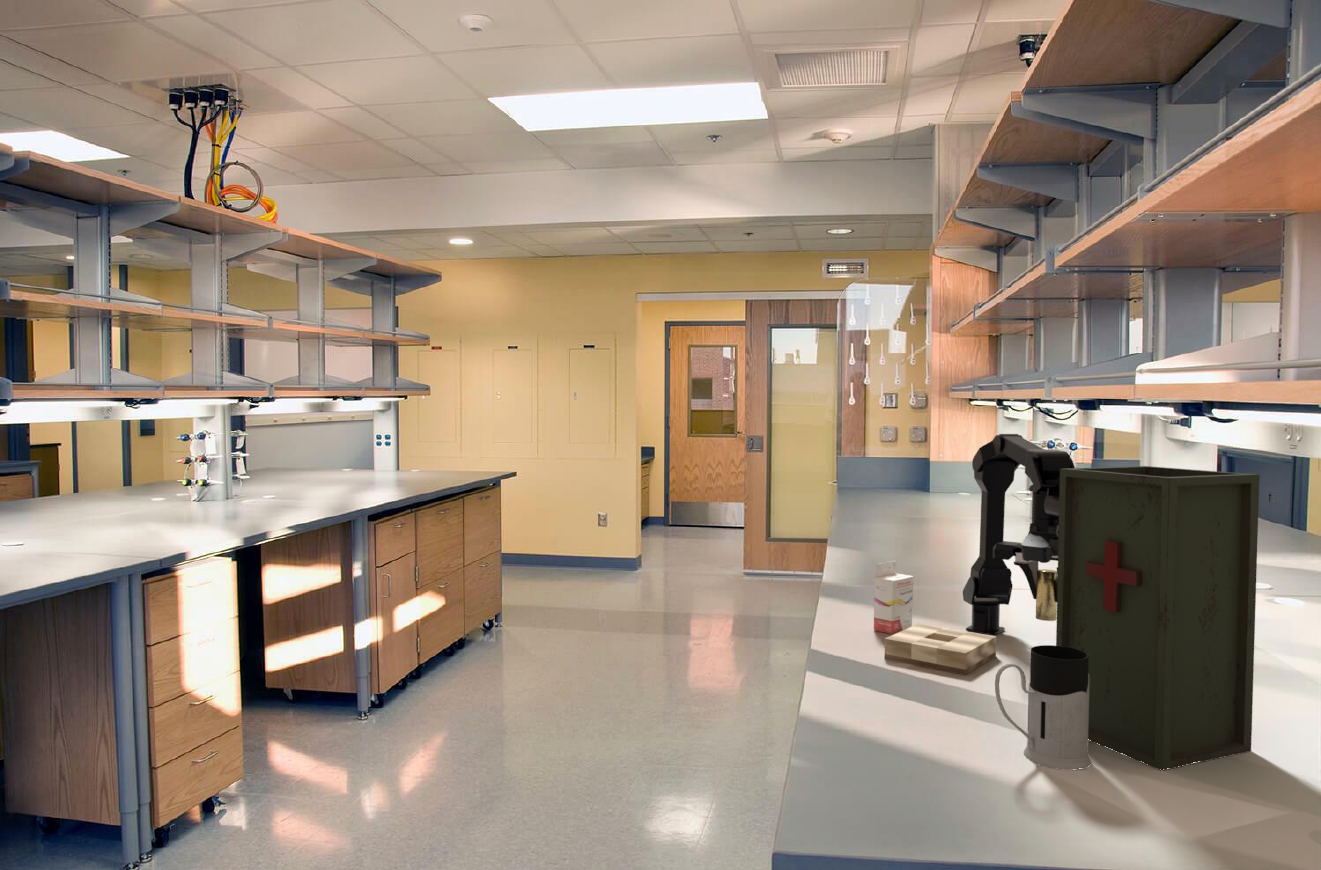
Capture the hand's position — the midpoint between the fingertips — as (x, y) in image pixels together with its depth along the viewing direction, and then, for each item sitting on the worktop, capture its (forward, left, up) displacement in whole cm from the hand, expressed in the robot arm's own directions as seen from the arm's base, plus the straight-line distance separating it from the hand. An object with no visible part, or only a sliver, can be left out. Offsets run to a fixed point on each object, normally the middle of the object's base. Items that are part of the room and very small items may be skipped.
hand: (1046, 600), depth 171 cm
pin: (0, 0, -3) cm, 3 cm away
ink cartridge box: (-9, -35, -13) cm, 38 cm away
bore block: (+6, -18, -13) cm, 23 cm away
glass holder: (+46, +13, -13) cm, 50 cm away
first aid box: (+27, +23, -13) cm, 38 cm away
